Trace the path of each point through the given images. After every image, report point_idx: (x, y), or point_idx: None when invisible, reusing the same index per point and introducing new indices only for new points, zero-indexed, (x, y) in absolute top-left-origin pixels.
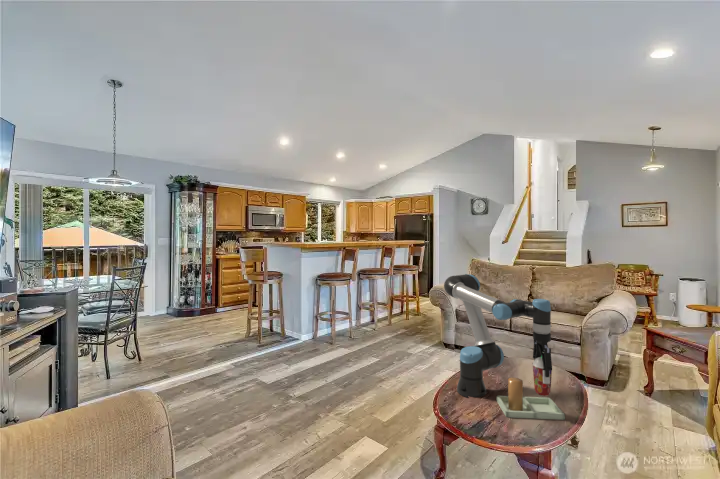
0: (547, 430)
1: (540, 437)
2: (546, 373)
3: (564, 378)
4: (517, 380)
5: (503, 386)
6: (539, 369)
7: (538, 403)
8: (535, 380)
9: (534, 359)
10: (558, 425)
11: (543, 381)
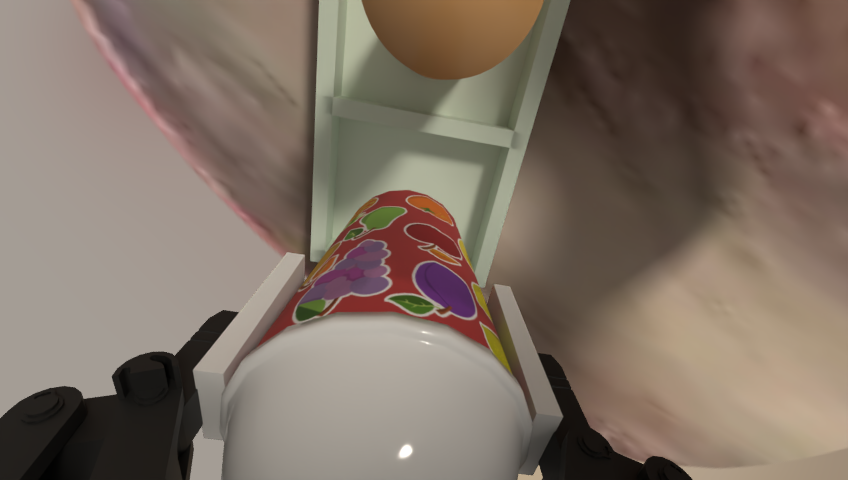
0: (232, 111)
1: (151, 24)
2: (185, 351)
3: (674, 445)
4: (444, 5)
5: (750, 128)
6: (275, 329)
7: (481, 214)
8: (384, 219)
9: (596, 449)
10: (287, 196)
11: (282, 263)
